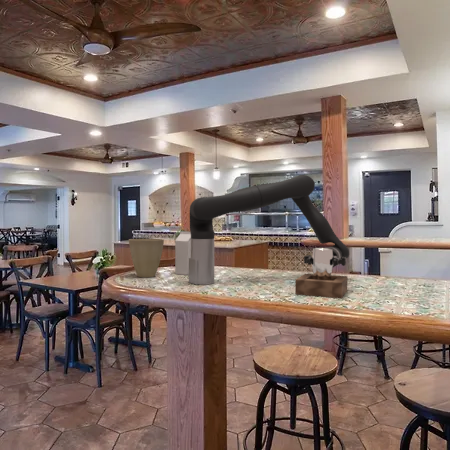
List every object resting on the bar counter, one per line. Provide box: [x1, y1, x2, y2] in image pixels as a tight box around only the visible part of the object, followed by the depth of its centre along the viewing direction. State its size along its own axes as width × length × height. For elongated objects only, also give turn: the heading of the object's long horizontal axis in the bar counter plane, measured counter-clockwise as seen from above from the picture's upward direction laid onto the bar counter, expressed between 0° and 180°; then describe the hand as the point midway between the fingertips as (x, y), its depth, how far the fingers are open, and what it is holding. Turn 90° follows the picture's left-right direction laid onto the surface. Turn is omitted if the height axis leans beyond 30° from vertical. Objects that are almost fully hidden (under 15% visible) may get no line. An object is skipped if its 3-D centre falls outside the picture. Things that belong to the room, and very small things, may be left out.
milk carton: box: [174, 231, 191, 276], centre depth 176 cm, size 7×7×19 cm
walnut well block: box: [294, 273, 348, 299], centre depth 135 cm, size 15×15×5 cm
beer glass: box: [311, 247, 334, 280], centre depth 135 cm, size 7×7×15 cm
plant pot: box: [128, 238, 165, 279], centre depth 168 cm, size 15×15×16 cm
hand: (321, 262), depth 134 cm, fingers open, 8 cm apart
